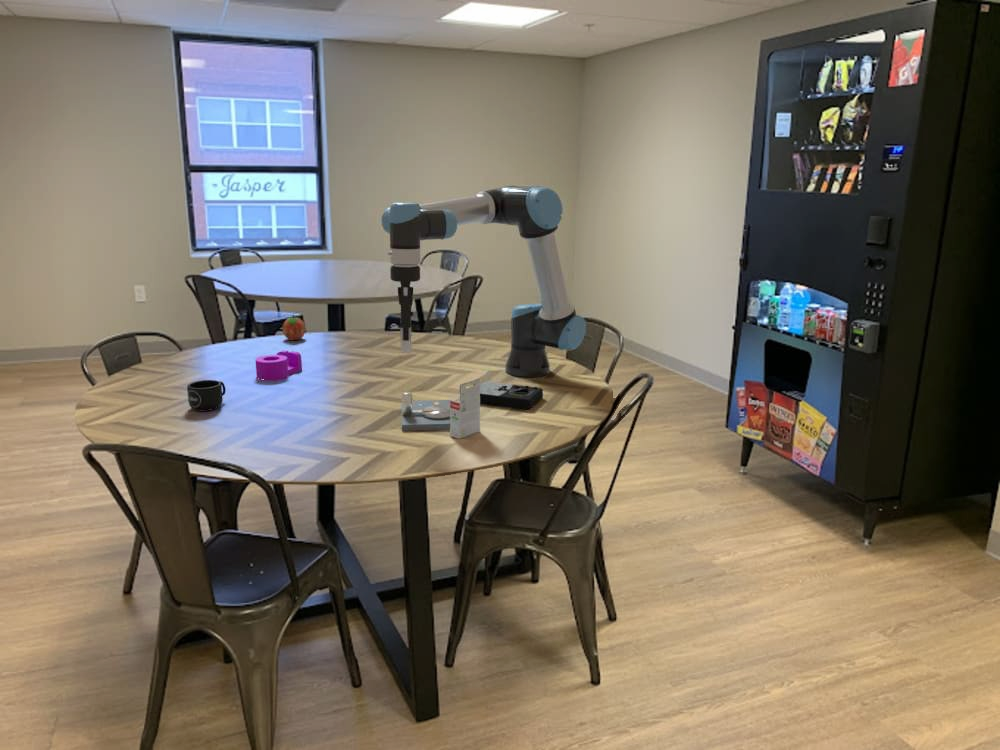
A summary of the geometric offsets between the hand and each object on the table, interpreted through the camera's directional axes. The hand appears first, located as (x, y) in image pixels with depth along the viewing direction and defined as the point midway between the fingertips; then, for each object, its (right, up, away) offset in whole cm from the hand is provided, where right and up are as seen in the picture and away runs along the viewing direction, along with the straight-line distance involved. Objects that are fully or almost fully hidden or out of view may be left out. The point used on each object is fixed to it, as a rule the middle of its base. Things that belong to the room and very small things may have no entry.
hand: (406, 346), depth 197 cm
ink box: (+15, -23, 0) cm, 28 cm away
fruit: (-57, +6, +101) cm, 116 cm away
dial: (+5, -18, +9) cm, 21 cm away
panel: (+7, -19, +13) cm, 24 cm away
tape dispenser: (-49, -8, +52) cm, 72 cm away
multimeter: (+26, -16, +29) cm, 42 cm away
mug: (-58, -17, +18) cm, 63 cm away
